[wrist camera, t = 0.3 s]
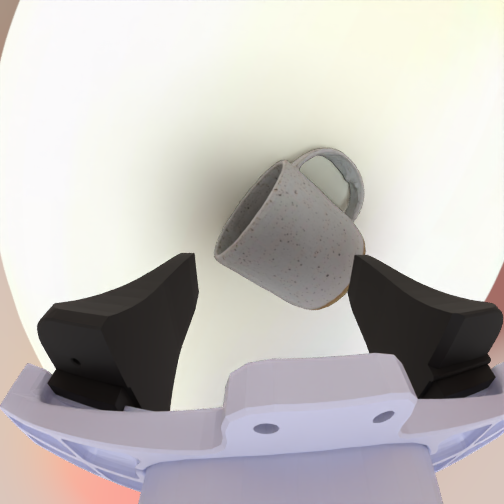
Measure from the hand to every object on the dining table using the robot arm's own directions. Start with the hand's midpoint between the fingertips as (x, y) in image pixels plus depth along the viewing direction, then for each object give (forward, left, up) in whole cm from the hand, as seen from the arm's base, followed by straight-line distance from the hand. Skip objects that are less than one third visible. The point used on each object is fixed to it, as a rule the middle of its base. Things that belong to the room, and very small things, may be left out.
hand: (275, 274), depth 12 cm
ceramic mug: (0, -2, -10) cm, 11 cm away
